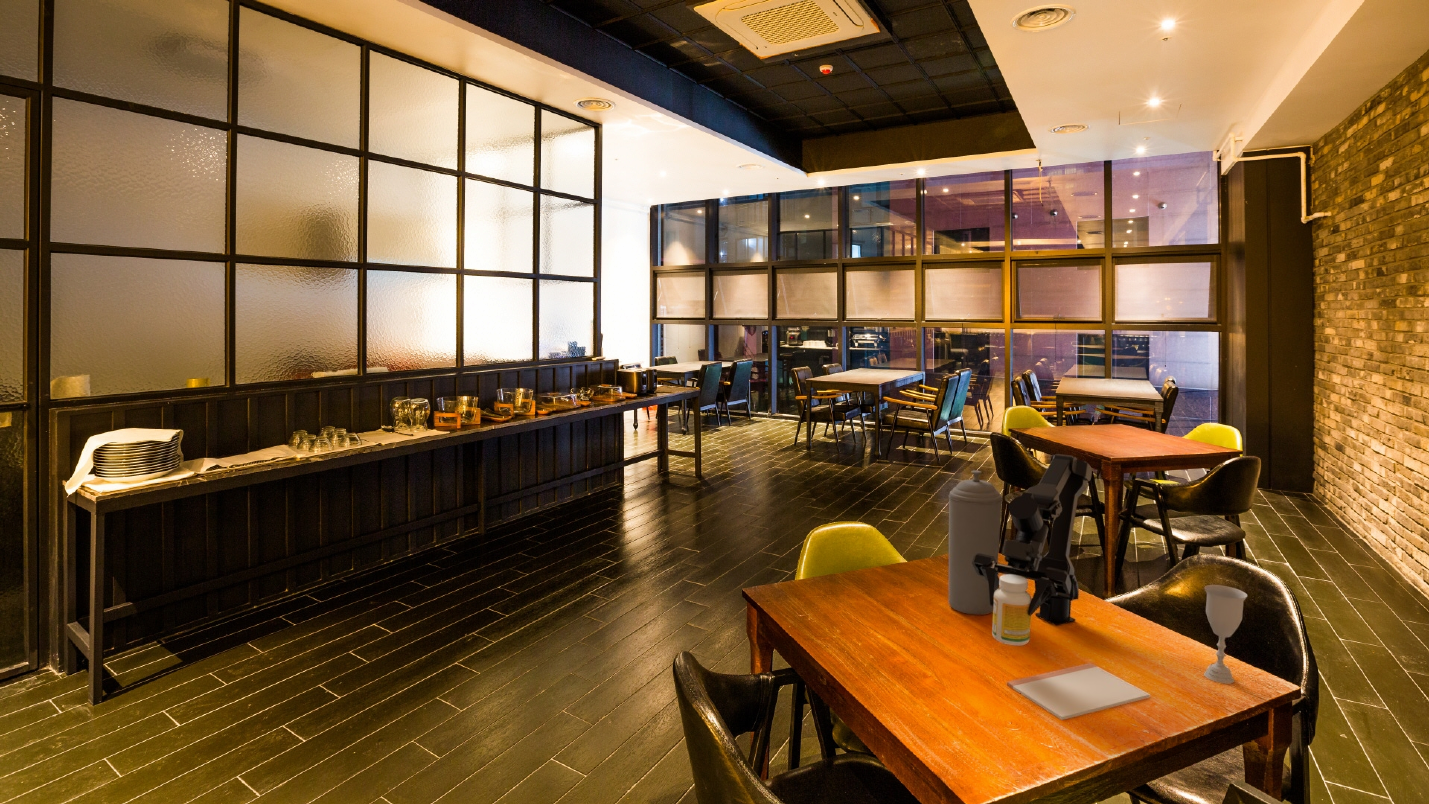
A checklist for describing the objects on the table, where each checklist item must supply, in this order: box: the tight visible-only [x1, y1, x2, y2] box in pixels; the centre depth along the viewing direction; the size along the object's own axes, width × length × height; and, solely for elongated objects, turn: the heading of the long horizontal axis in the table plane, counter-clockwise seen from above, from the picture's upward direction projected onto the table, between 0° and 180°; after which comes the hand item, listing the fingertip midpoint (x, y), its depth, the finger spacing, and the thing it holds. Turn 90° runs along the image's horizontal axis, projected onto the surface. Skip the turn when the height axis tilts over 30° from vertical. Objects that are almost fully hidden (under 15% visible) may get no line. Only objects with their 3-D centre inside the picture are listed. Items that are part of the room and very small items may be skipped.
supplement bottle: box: [991, 574, 1033, 647], centre depth 148 cm, size 7×7×13 cm
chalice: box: [1203, 584, 1248, 685], centre depth 144 cm, size 7×7×18 cm
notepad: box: [1006, 662, 1151, 721], centre depth 140 cm, size 22×14×1 cm, turn 110°
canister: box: [948, 470, 1004, 616], centre depth 180 cm, size 13×13×35 cm
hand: (1009, 610), depth 147 cm, fingers closed on supplement bottle, 7 cm apart
